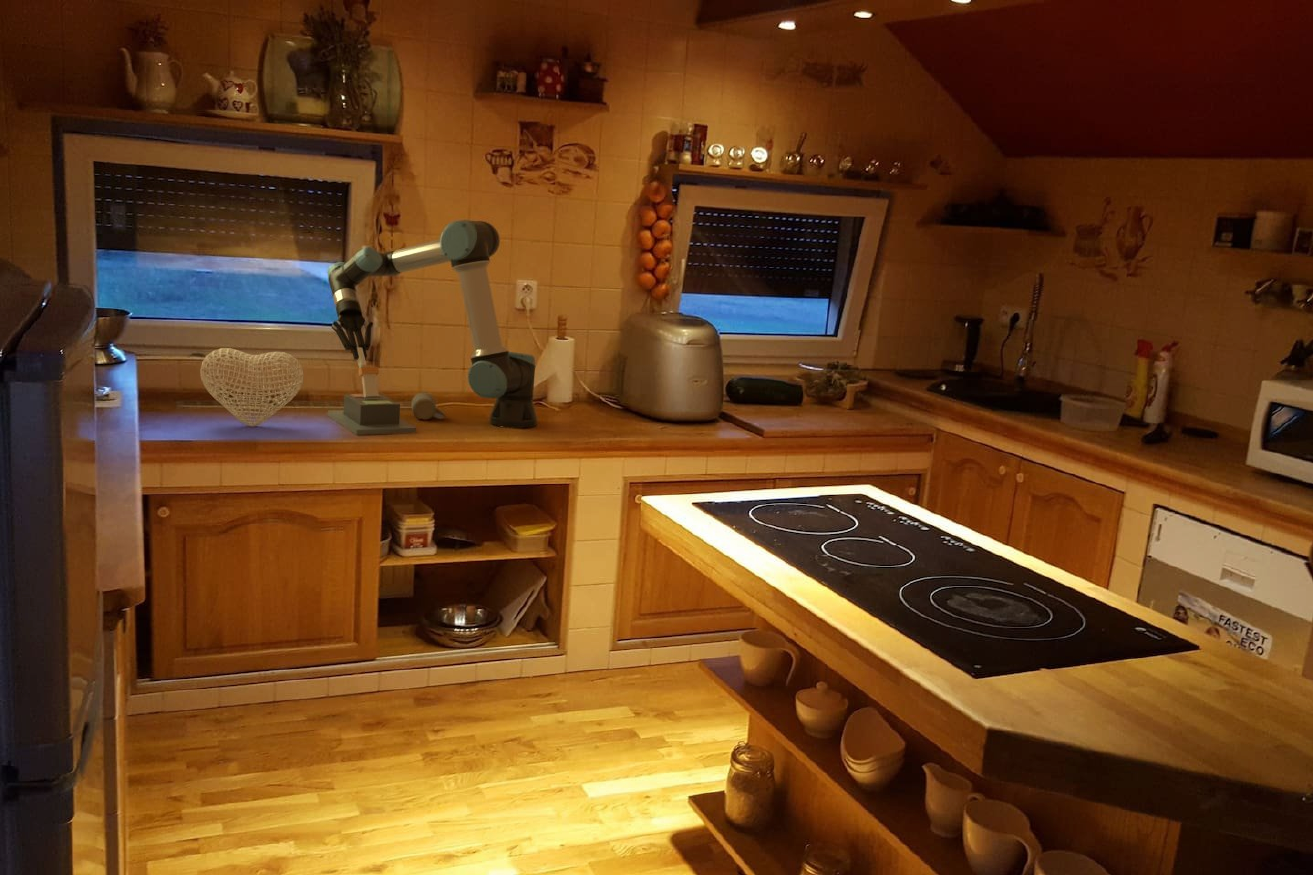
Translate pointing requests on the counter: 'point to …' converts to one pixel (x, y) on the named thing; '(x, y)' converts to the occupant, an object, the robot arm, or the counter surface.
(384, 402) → the breaker box
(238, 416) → the heart
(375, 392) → the breaker lever
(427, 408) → the ceramic mug
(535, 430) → the counter surface
